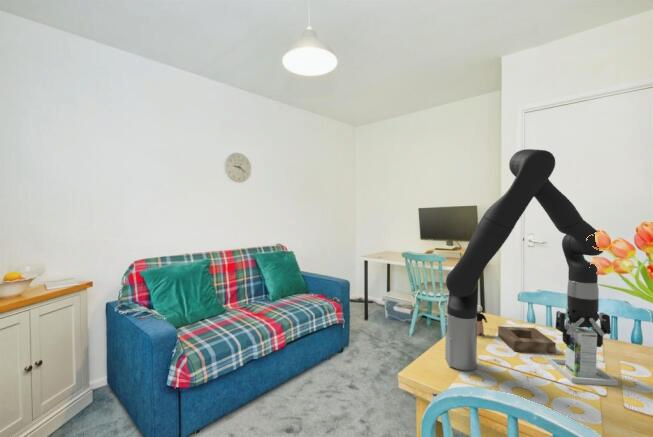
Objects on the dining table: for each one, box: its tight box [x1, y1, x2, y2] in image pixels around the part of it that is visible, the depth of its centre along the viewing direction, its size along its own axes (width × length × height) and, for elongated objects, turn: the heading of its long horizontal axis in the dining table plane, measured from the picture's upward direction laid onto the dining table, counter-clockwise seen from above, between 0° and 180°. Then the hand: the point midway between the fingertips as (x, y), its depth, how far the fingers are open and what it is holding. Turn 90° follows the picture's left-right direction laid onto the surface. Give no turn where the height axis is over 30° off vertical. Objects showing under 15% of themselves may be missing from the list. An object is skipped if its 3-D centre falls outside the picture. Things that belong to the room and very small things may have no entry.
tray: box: [547, 357, 619, 387], centre depth 96 cm, size 12×12×2 cm
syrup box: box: [564, 327, 598, 379], centre depth 96 cm, size 6×6×14 cm
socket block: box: [497, 325, 557, 355], centre depth 117 cm, size 14×14×4 cm
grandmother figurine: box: [477, 304, 488, 337], centre depth 126 cm, size 8×4×13 cm, turn 108°
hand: (582, 345), depth 95 cm, fingers open, 8 cm apart
